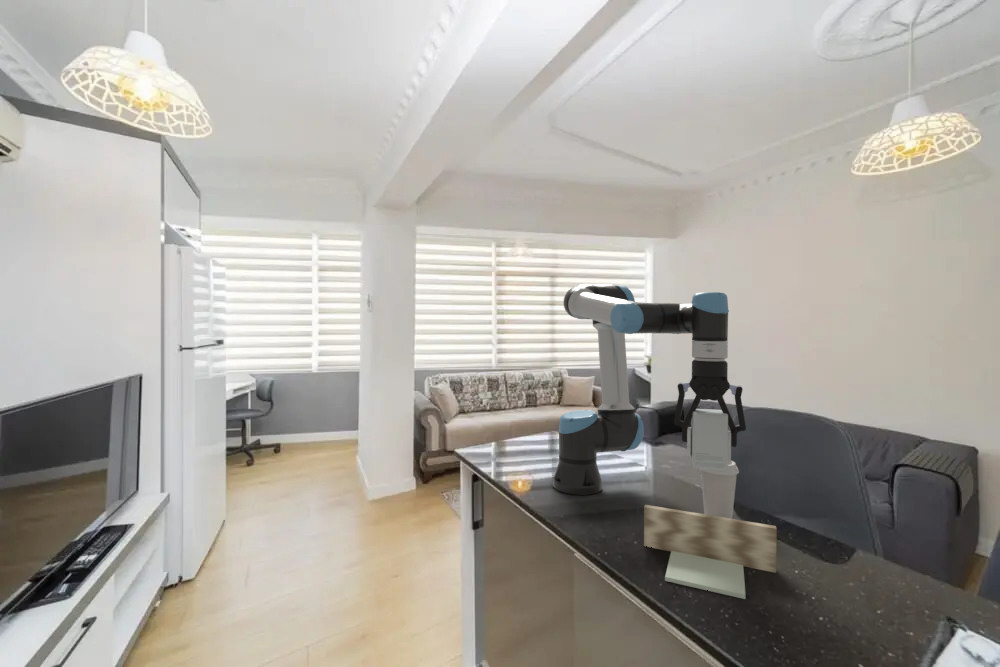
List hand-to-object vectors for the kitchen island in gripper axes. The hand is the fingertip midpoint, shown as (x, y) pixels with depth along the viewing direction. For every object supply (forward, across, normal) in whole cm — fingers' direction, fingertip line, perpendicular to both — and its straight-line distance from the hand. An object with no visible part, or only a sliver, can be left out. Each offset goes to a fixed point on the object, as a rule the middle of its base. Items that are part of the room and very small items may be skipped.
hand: (708, 458), depth 107 cm
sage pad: (+20, 0, -15) cm, 25 cm away
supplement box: (+2, 0, 0) cm, 2 cm away
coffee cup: (+20, +2, +17) cm, 26 cm away
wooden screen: (+20, 0, -7) cm, 21 cm away
